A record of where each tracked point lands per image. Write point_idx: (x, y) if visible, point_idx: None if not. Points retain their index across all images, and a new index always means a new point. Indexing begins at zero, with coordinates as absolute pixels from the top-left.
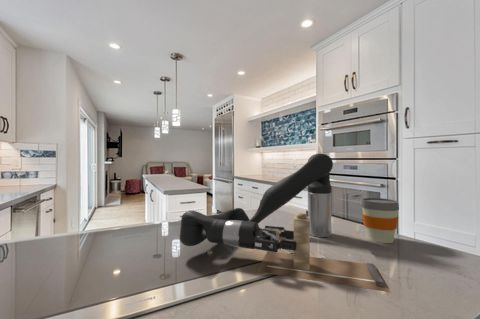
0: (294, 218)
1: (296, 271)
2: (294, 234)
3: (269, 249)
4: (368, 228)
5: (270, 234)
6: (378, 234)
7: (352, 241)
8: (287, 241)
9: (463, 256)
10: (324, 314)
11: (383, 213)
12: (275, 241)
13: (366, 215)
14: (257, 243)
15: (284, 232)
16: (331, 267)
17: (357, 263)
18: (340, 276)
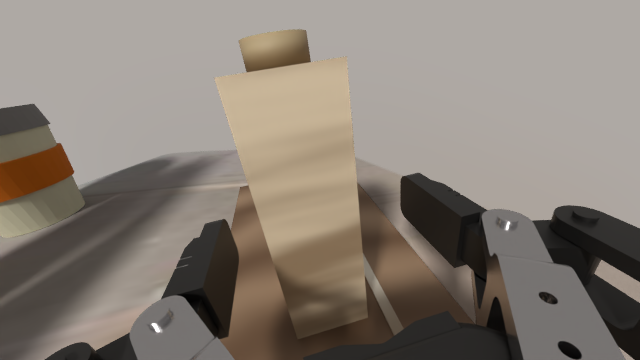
0: (316, 61)
1: (391, 294)
2: (353, 172)
3: (637, 303)
4: (16, 202)
5: (551, 308)
6: (60, 197)
7: (30, 255)
8: (447, 194)
9: (169, 156)
10: (487, 209)
11: (39, 136)
12: (589, 209)
13: None
14: None
15: (201, 314)
16: None
17: (242, 202)
18: None
